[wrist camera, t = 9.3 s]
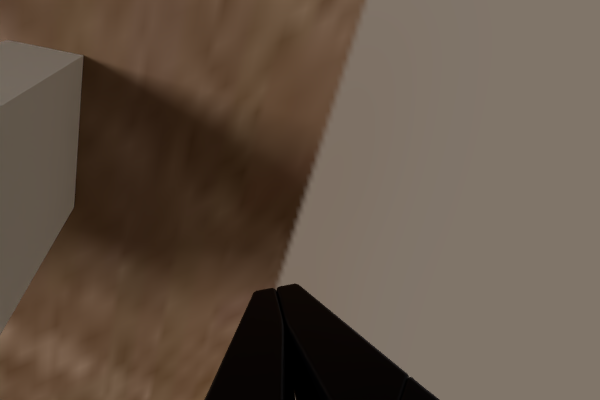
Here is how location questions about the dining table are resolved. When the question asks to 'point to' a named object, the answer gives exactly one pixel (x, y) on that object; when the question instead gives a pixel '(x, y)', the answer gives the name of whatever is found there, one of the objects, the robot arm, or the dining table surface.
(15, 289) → the domino
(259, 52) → the dining table surface
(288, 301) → the robot arm
